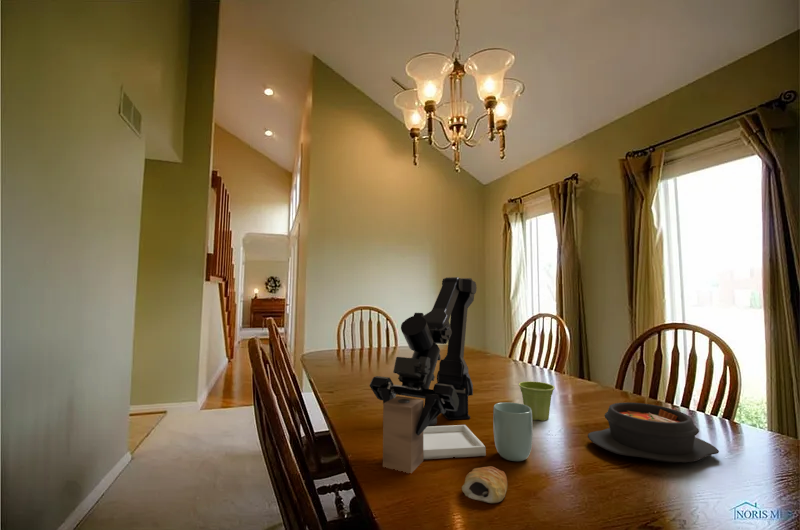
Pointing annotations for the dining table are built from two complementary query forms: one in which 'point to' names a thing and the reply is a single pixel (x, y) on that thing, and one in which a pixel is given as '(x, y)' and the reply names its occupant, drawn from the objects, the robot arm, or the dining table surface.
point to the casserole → (651, 434)
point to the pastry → (485, 484)
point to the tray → (451, 442)
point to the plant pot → (537, 398)
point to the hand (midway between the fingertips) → (400, 431)
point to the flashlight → (433, 422)
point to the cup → (513, 430)
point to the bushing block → (402, 434)
